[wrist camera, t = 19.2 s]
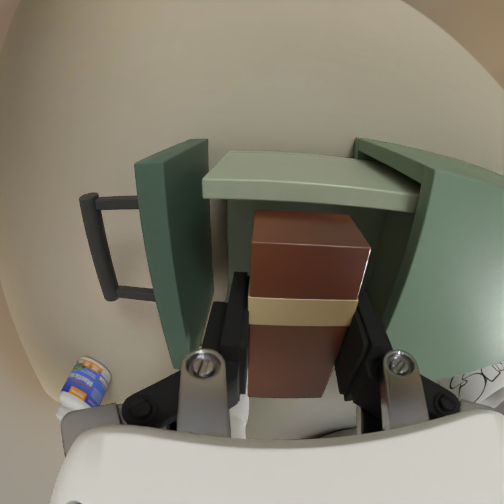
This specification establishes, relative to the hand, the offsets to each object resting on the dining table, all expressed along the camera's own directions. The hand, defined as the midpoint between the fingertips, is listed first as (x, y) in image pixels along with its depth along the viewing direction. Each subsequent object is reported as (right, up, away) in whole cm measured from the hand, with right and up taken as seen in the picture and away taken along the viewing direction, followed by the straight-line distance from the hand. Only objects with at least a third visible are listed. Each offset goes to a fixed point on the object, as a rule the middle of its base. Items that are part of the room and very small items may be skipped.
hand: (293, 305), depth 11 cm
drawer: (-2, +4, +7) cm, 8 cm away
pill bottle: (-23, -14, +19) cm, 33 cm away
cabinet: (+12, +4, +7) cm, 15 cm away
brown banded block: (0, 0, 0) cm, 0 cm away
